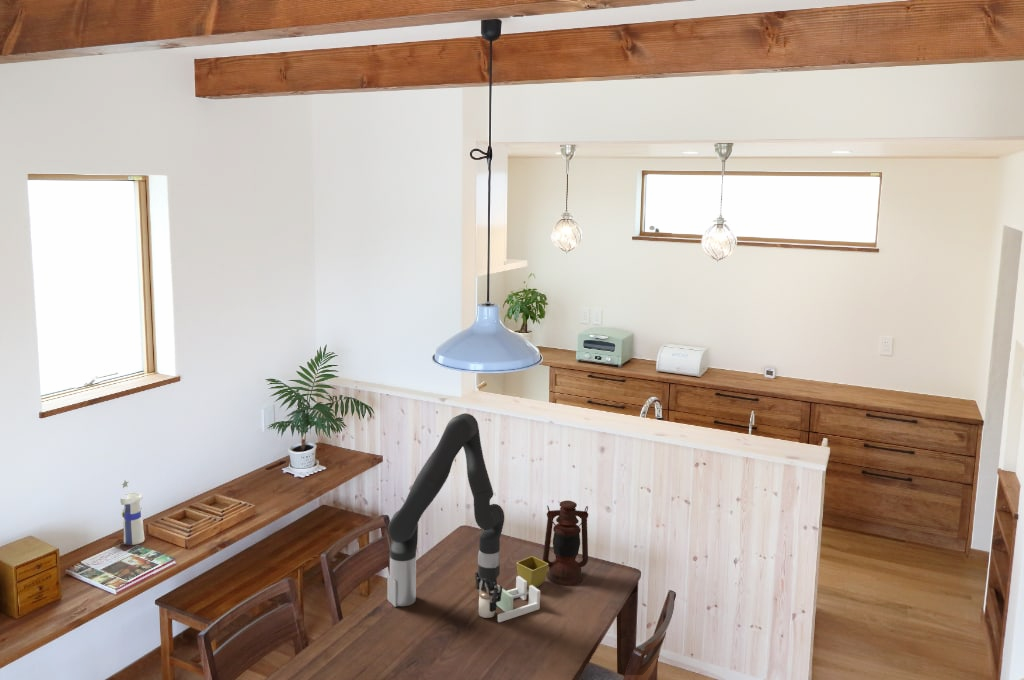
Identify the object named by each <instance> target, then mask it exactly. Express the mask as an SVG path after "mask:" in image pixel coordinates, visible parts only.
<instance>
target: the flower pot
mask: <svg viewBox="0 0 1024 680" xmlns="http://www.w3.org/2000/svg"><path fill="white" fill-rule="evenodd" d="M548 565H549V564H548V563H546V562H544V561H543V559H539V558H537V557H535V556H532V555H531V556H529V557H526V558H524V559H522V560H518V561H517V562H516V569H517V570H516V572H517V576H520V577H521V578H523V579H524V580H526V581H527V589H529V586H530V585H533V586H534V587H536V588H538V587H540V586H541V585H542V584H544V582H545V579H546V578H547V572H548V571H549V567H548Z"/></svg>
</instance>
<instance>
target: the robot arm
mask: <svg viewBox="0 0 1024 680" xmlns="http://www.w3.org/2000/svg"><path fill="white" fill-rule="evenodd" d="M478 423H479V422H478V421H477V419H476V417H475V416H473V414H470V413H465V412H464V413H461V414H459V415H457V416H456V415H455V416H454V417H452V418H451V419H450V420H449V421H448V422H447V424H446V426H445V427H444V428H445V429H444V431H443V433H442V435H441V438H440V439H439V441H438V444H437V445H436V446H435V448H434V450H433V452H432V453H431V454H430V456H429V457H428V459H427V460H426V461H425V463H424V465H423V466H422V468H421V469H420V471H419V473H418V474H417V476H416V478H415V479H414V481H413V484H412V486H411V488H410V490H409V491H408V492H409V493H408V494H407V497H406V499H405V502H404V503H403V505H402V506H401V507H400V509H399V510H398V511H396V512H395V513H394V514H393V516H392V517H391V519H390V521H389V523H388V526H387V533H388V536H389V538H390V540H391V543H390V547H389V574H388V575H387V581H386V582H387V589H386V590H387V592H386V594H387V601H388V603H390V604H391V605H392V606H393V607H394V608H396V607H409V606H411V605H413V604H414V603H415V602H416V600H417V598H416V596H417V591H416V589H417V584H416V583H417V548H418V536H419V534H418V533H419V521H420V519H421V518H422V516H423V515H424V514H423V513H424V512H426V510H427V508H428V507H429V506H430V505H431V503H432V502H433V501H434V499H435V498H436V497H437V495H438V494H439V492H441V490H442V488H443V487H444V485H445V483H446V482H447V479H448V478H449V476H450V472H451V470H452V465H453V463H454V460H455V458H456V457H457V455H458V453H460V451H461V449H462V448H463V451H464V453H465V454H464V455H465V459H466V460H465V461H466V472H467V473H466V474H467V480H468V484H469V488H470V491H471V494H472V496H473V497H472V498H473V512H474V520H475V522H476V524H477V526H478V527H479V528H480V529H481V530H483V531H482V532H481V534H480V535H479V538H478V539H479V541H478V542H479V543H478V544H479V545H478V553H477V572H475V573H474V576H475V577H474V578H475V589H476V590H477V591H478V593H479V592H480V591H481V590H483V589H486V590H487V595H488V596H489V597H490V611H491V612H493V611H495V612H496V611H497V605H496V602H499V601H501V594H502V588H503V587H502V586H501V585H499V584H498V580H497V579H498V577H499V576H500V574H501V573H500V569H501V568H500V567H501V554H500V552H501V551H500V546H501V544H500V543H501V540H500V538H501V535H502V532H503V527H504V524H505V512H504V510H503V507H502V506H501V505H499V504H497V503H492V504H491V499H492V498H493V496H494V490H493V487H492V484H491V480H490V477H489V474H488V470H487V466H486V462H485V459H484V453H483V447H482V444H481V443H482V441H481V436H480V429H479V424H478ZM497 584H498V585H499V586H498V585H497ZM490 591H494V592H491V593H490ZM492 595H493V598H492ZM497 597H498V598H497Z"/></svg>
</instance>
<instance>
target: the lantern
mask: <svg viewBox="0 0 1024 680" xmlns="http://www.w3.org/2000/svg"><path fill="white" fill-rule="evenodd" d="M577 505H578V504H577V503H576V502H575V501H572V500H562V501H560V502H559V509H556V510H554V509H553V510H550V508H549V507H550V506H549V505H547V506H546V507H547V513H546V516H547V519H546V522H547V523H546V530H545V536H544V546H543V553H542V561H544V562H546V563H548V564H549V565H548V570H547V575H546V578H547V580H548V581H550V582H551V583H553V584H555V585H559V586H565V587H566V586H569V587H570V586H575V585H578V584H579V583H581V582H583V579H584V576H583V573H582V568H584V567H585V566H586V565H588V562H589V547H588V546H589V544H588V542H589V541H588V540H589V539H588V536H589V535H588V518H589V513H588V510H589V506H588V505H586V506H585V508H584V510H577V509H576V508H577ZM577 517H579V518H580V519H581V522H580V524H579V519H578V518H577ZM555 518H556V519H555ZM554 519H555V521H556V523H555V522H554ZM552 532H553V533H554V534H553V533H552ZM552 534H553V538H552ZM580 534H581V535H580ZM551 539H552V540H551ZM551 542H552V548H553V554H554V557H555V559H553V560H552V561H550V559H549V557H550V549H551ZM580 547H581V551H582V554H581V555H582V556H581V557H582V559H581V561H580V562H579V561H577V556H578V555H579V552H580Z"/></svg>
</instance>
